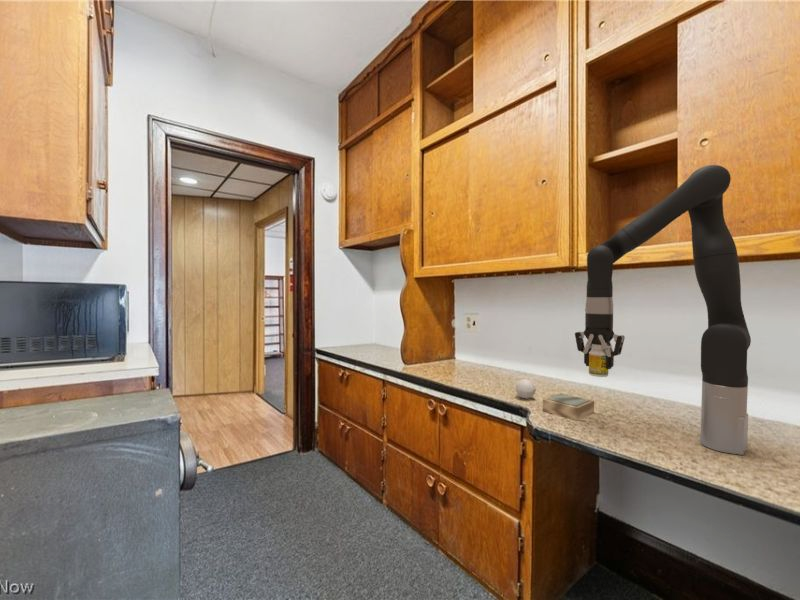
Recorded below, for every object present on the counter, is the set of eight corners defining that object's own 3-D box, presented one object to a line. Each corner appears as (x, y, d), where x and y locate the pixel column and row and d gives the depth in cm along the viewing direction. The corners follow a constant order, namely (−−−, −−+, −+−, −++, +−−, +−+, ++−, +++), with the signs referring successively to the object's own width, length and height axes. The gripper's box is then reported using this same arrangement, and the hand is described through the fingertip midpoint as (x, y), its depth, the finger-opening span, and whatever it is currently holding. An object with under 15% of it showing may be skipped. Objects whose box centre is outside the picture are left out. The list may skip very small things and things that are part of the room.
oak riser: (594, 412, 129) (594, 400, 128) (577, 420, 121) (577, 407, 121) (559, 404, 138) (560, 392, 138) (542, 411, 130) (542, 398, 130)
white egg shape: (531, 402, 140) (531, 382, 139) (512, 398, 145) (512, 379, 144) (541, 396, 147) (541, 378, 147) (522, 393, 152) (523, 375, 152)
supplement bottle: (594, 372, 120) (594, 342, 119) (611, 375, 115) (612, 344, 115) (585, 374, 117) (585, 343, 116) (602, 378, 112) (603, 345, 112)
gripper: (629, 312, 112) (628, 369, 113) (580, 310, 123) (580, 362, 124) (620, 313, 107) (619, 373, 108) (570, 311, 118) (569, 365, 119)
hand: (598, 367), depth 116 cm, fingers closed on supplement bottle, 5 cm apart
